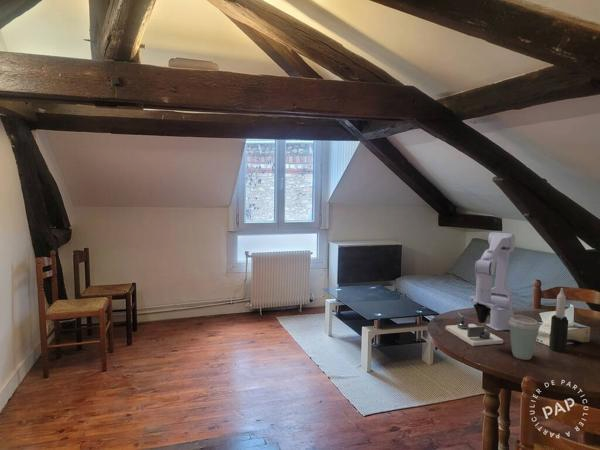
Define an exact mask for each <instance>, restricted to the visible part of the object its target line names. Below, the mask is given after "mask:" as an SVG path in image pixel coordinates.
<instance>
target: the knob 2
mask: <svg viewBox="0 0 600 450" xmlns="http://www.w3.org/2000/svg"><path fill="white" fill-rule="evenodd" d="M484 329H486V328H485V326H483V325H481V326H480V325H477V327H468V335H467V337H469V338H470V337H481V338H485V339H488V338H490V333H491V332H490V333H489V331H488V332H486V331H484Z"/></svg>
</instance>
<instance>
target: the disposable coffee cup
mask: <svg viewBox="0 0 600 450" xmlns="http://www.w3.org/2000/svg"><path fill="white" fill-rule="evenodd" d="M508 323H509V328H510V330H509V336H510V344H511V345H510V346H511V352H512V353H511V354H512V356H513V357H515V359H516V358H517V359H518V360H519V359H520V360H527V361H528V360H531V359H532V357H533V354H534V350H535V348H536V342H537V338H538V335H539V330H540V328H541V324H540V323H539V322H538V320H536V319H535V318H532V317H530V316H526V315H523V314H522V315H521V314H514V315H512V316H510V319H509V321H508Z"/></svg>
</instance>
